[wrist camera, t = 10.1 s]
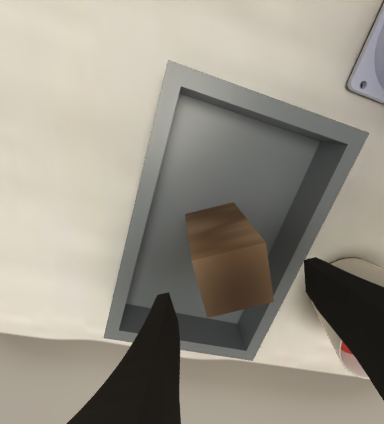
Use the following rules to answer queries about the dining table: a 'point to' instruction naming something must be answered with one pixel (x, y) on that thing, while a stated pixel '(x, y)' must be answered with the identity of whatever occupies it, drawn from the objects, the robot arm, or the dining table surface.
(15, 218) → the dining table surface
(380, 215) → the dining table surface
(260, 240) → the block
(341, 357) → the candle
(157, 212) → the bin
